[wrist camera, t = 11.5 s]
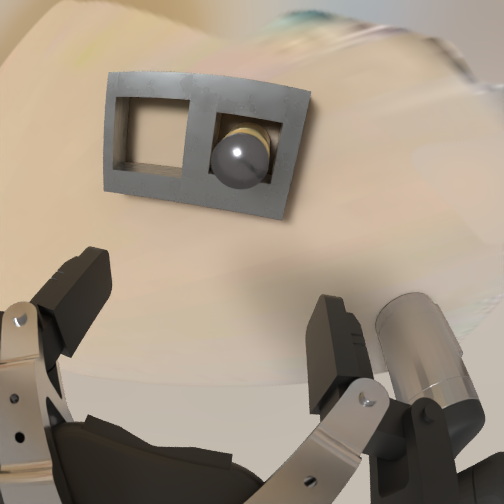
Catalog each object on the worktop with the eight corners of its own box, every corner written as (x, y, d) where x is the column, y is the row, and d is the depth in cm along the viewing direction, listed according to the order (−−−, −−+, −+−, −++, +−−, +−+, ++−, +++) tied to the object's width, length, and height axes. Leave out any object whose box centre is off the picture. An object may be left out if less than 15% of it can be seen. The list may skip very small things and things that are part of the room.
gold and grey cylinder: (273, 126, 26) (274, 139, 19) (265, 165, 28) (263, 193, 21) (231, 119, 25) (215, 130, 19) (224, 158, 27) (208, 184, 21)
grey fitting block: (307, 91, 24) (311, 91, 21) (281, 207, 30) (282, 220, 27) (123, 72, 23) (108, 72, 20) (116, 181, 29) (103, 191, 27)
